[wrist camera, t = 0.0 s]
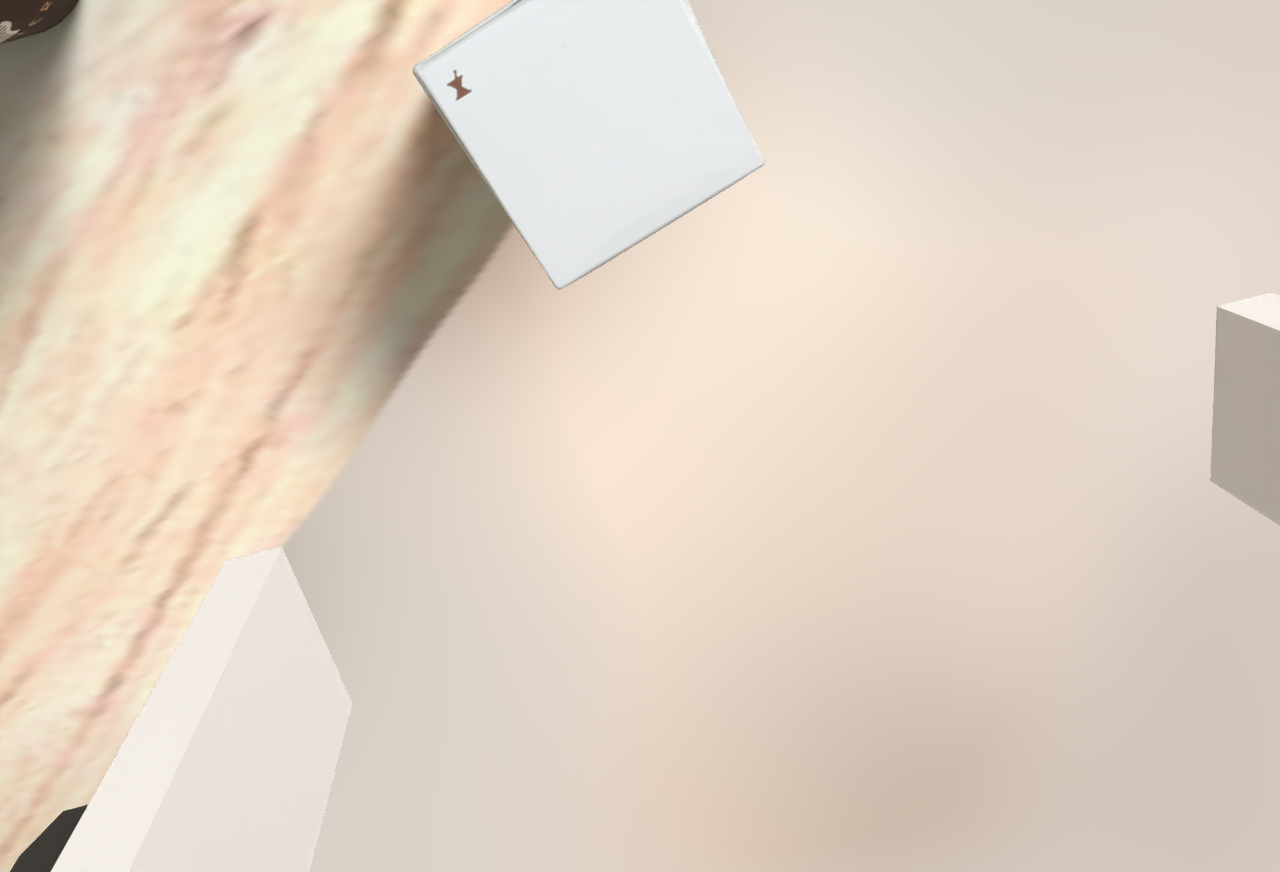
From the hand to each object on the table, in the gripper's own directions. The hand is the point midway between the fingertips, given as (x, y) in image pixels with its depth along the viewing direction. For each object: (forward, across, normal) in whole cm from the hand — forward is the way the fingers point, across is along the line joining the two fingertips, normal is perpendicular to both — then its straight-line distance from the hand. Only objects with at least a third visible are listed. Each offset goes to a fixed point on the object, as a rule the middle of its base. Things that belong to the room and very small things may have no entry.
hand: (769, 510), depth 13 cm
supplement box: (+28, 0, +4) cm, 29 cm away
